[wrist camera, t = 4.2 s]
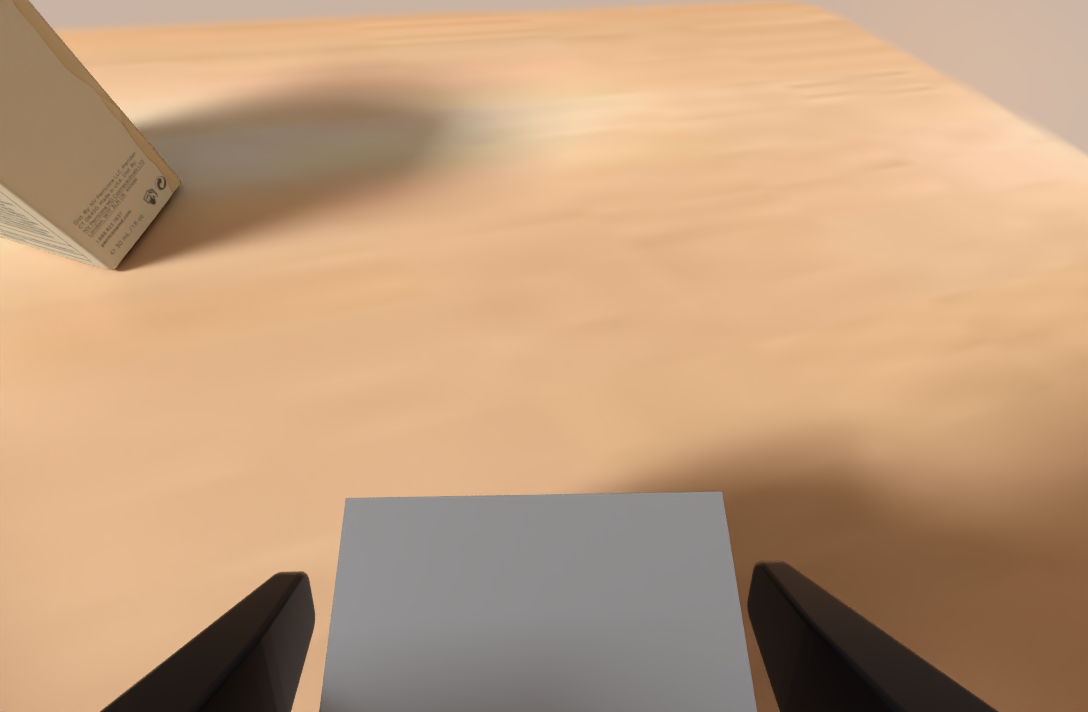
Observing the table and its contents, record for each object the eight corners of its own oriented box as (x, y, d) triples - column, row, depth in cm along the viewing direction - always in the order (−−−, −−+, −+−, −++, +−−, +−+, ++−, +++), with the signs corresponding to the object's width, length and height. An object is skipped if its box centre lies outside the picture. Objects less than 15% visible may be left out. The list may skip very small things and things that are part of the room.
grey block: (629, 761, 13) (806, 1015, 5) (426, 770, 13) (277, 1051, 5) (613, 549, 15) (722, 491, 7) (438, 553, 15) (346, 498, 7)
